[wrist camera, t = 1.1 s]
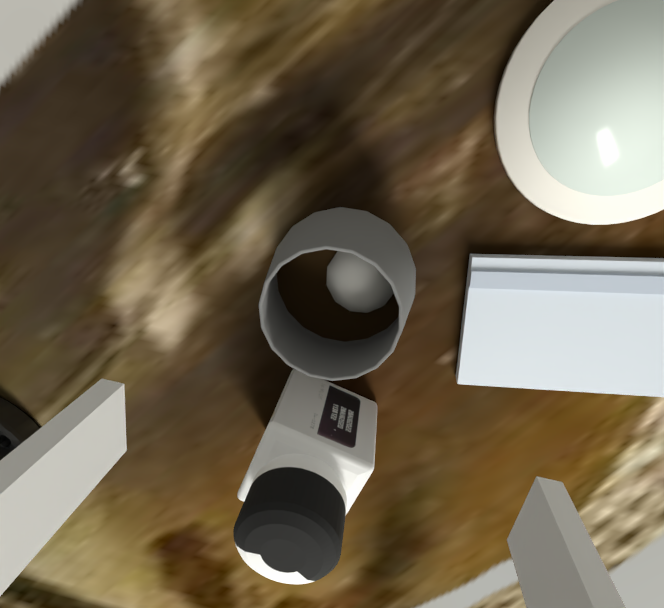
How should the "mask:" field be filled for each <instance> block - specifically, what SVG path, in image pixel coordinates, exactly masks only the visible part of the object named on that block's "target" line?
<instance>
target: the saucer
mask: <svg viewBox="0 0 664 608" xmlns="http://www.w3.org/2000/svg"><path fill="white" fill-rule="evenodd" d="M494 136H495V142H496V148H497V152H498V155H499V158H500V162H501V164H502V166H503V168H504V170H505V173H506V175H507V176H508V178H509V179H510V181H511V182H512V184H513V185H514V187H515V188H516V189H517V190H518V191H519V192H520V193H521V194H522V195H523V196H524V197H525V198H526V199H527V200H528V201H530V202H531V203H532V204H533V205H535V206H537V207H538V208H540V209H542V210H543V211H545V212H547V213H550V214H552V215H554V216H557V217H559V218H562V219H565V220H569V221H573V222H576V223H584V224H592V225H596V224H615V223H623V222H628V221H632V220H636V219H640V218H643V217H646V216H648V215H651V214H654V213H657V212H659V211H661V210H663V209H664V0H554V1H553V2H552V3H551V4H550V5H548V6H547V7H546V9H545V10H544V11H543V12H542V13H541V14H540V15H539V16H538V17H537V18H536V19H535V20H534V21H533V23H532V24H531V25H530V27H529V28H528V29H527V30H526V32H525V33H524V34H523V36H522V37H521V39H520V41H519V42H518V44H517V46H516V47H515V49H514V50H513V52H512V54H511V56H510V58H509V61H508V63H507V65H506V67H505V69H504V72H503V75H502V78H501V81H500V84H499V88H498V92H497V97H496V101H495V110H494Z"/></svg>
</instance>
